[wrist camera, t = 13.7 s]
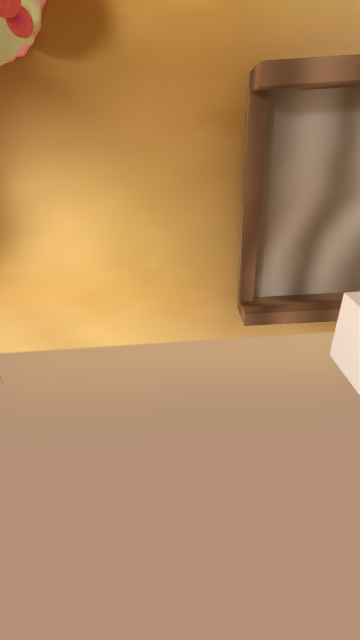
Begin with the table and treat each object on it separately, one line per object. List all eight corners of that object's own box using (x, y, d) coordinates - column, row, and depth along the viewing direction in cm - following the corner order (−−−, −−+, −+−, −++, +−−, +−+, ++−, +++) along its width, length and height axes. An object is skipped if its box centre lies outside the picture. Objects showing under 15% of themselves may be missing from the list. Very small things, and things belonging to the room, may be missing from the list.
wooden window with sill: (237, 306, 38) (244, 325, 34) (248, 72, 26) (261, 61, 22) (374, 299, 38) (397, 317, 34) (448, 59, 26) (495, 45, 22)
